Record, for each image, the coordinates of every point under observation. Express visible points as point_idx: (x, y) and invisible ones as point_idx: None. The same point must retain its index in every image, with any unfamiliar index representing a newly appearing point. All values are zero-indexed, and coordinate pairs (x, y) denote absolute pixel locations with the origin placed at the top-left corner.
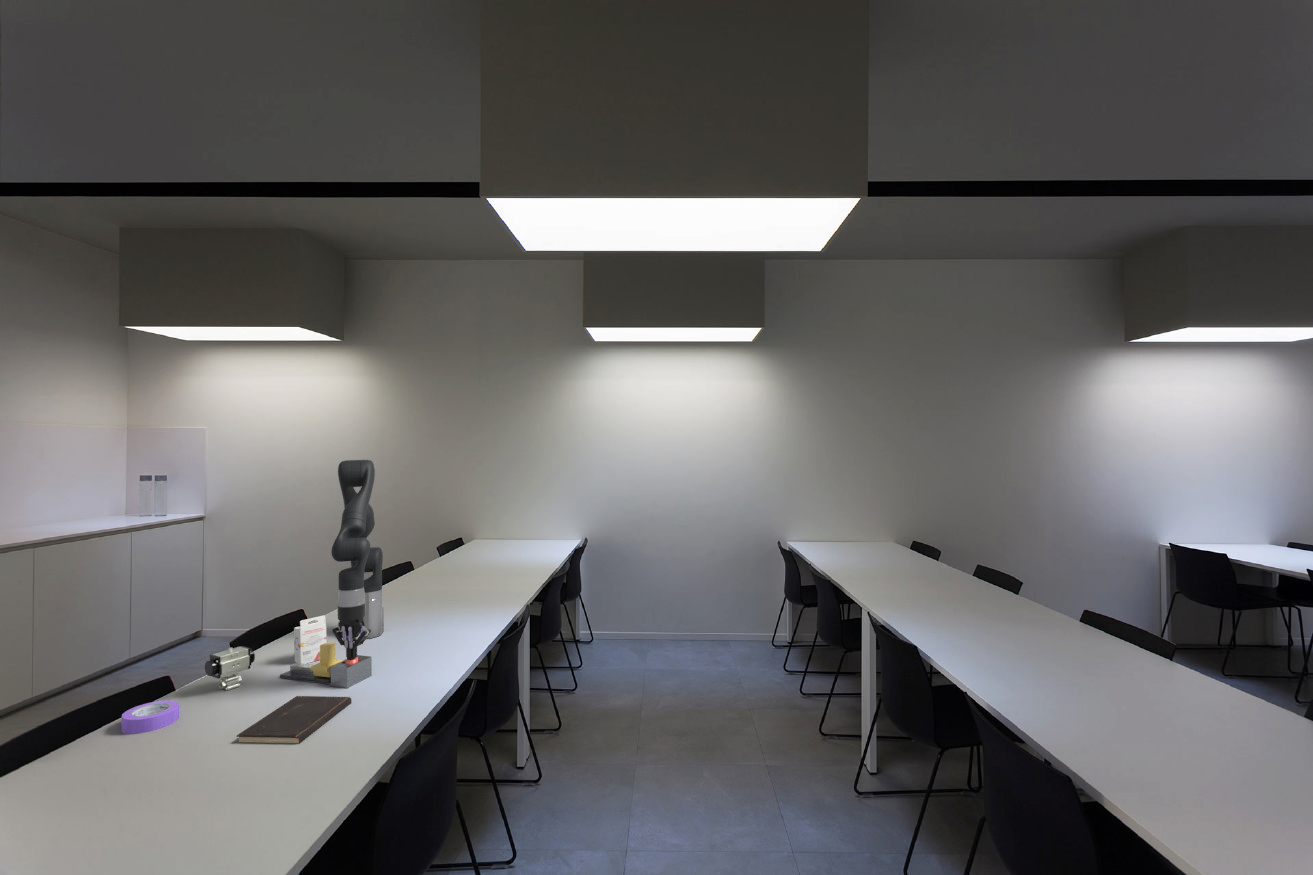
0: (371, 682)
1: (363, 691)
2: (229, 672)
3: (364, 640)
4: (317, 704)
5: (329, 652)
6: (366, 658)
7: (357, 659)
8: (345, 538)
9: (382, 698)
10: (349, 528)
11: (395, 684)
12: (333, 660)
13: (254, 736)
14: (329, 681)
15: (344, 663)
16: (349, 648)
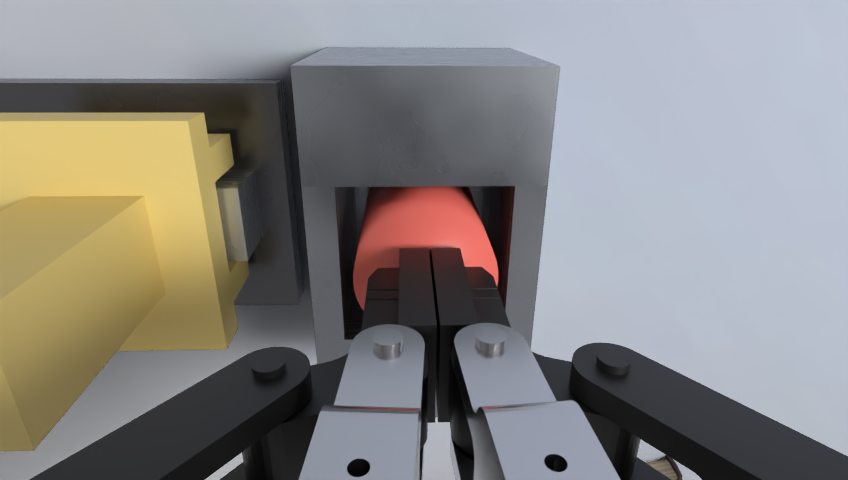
0: (605, 178)
1: (645, 321)
2: None
3: (721, 410)
4: None
5: (88, 351)
6: (537, 144)
7: (493, 255)
8: None
9: (833, 369)
10: None
11: (828, 160)
12: (136, 233)
13: None
14: (299, 301)
15: (344, 274)
16: (446, 418)
